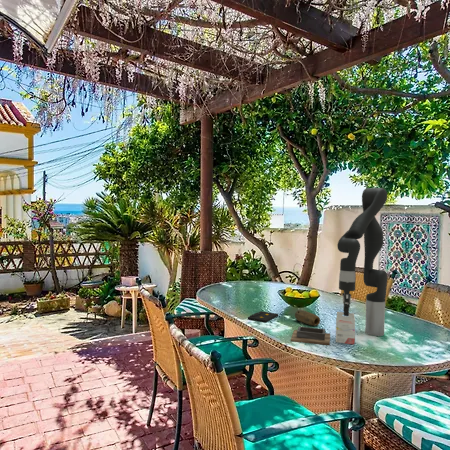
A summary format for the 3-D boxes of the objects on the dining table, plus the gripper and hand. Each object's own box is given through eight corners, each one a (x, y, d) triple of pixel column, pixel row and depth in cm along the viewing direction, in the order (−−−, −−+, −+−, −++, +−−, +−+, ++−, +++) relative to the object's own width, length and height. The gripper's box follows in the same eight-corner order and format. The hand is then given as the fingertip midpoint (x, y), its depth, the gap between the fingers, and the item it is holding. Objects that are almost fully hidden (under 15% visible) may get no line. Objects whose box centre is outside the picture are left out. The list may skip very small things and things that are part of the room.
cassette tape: (261, 314, 239) (261, 310, 239) (278, 317, 233) (278, 313, 233) (247, 320, 223) (247, 316, 223) (265, 323, 218) (265, 320, 218)
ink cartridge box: (354, 341, 188) (355, 311, 187) (354, 344, 183) (355, 313, 183) (336, 339, 191) (337, 309, 191) (335, 342, 186) (336, 311, 186)
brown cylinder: (292, 321, 222) (293, 309, 222) (300, 319, 226) (301, 308, 226) (313, 327, 210) (313, 315, 210) (321, 325, 215) (322, 313, 214)
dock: (294, 331, 202) (294, 324, 201) (330, 335, 197) (330, 327, 197) (290, 341, 186) (291, 332, 186) (329, 345, 181) (330, 336, 181)
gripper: (338, 277, 194) (337, 310, 194) (339, 281, 181) (337, 316, 181) (354, 278, 192) (353, 311, 192) (356, 282, 178) (354, 318, 179)
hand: (345, 313), depth 187 cm, fingers open, 8 cm apart
